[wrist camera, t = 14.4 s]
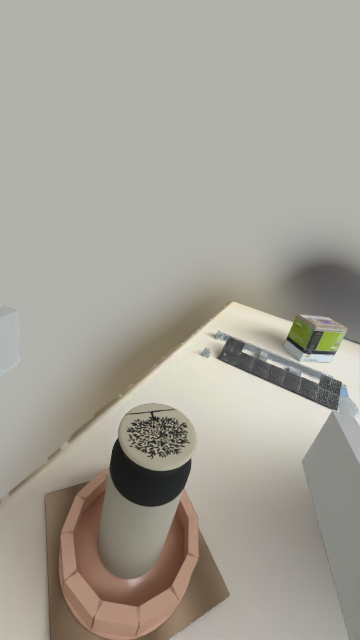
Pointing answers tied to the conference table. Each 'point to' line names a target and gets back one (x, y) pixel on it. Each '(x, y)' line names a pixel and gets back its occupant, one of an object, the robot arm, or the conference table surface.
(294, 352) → the tea box
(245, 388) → the conference table surface
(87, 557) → the bowl
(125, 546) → the travel mug
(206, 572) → the cork mat
